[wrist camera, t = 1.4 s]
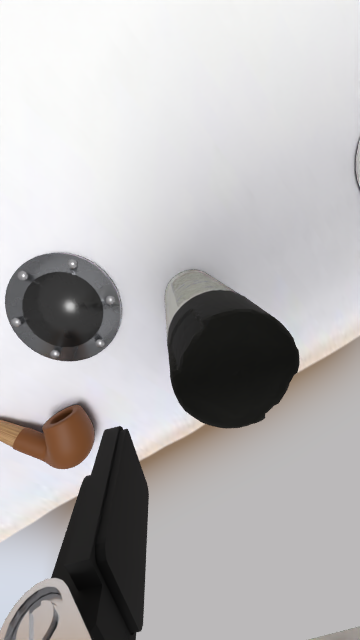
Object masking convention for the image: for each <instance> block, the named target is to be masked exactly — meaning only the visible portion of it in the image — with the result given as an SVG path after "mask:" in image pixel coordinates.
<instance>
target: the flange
mask: <svg viewBox="0 0 360 640" xmlns="http://www.w3.org/2000/svg"><path fill="white" fill-rule="evenodd" d="M5 307H6V313H7V317H8V320H9V322H10V324H11V326H12V328H13V330H14V332H15V333H16V334H17V336H18V337H19V338H20V339H21V340H22V342H24V343H25V344H26V345H27V346H28V347H29V348H31V349H32V350H34V351H35V352H37V353H39V354H41V355H43V356H45V357H48V358H51V359H54V360H60V361H78V360H83V359H87V358H90V357H92V356H94V355H96V354H98V353H99V352H101V351H102V350H103V349H105V348H106V347H107V346H108V345H109V344H110V342H111V341H112V339H113V338H114V336H115V334H116V332H117V330H118V328H119V325H120V322H121V316H122V307H121V300H120V296H119V293H118V291H117V288H116V287H115V285H114V283H113V281H112V280H111V279H110V277H109V276H108V275H107V274H106V273H105V271H103V270H102V269H101V268H100V267H99V266H97V265H96V264H95V263H93V262H91V261H89V260H88V259H86V258H83V257H80V256H78V255H73V254H68V253H51V254H44V255H41V256H37V257H35V258H33V259H31V260H29V261H27V262H26V263H24V264H23V265H22V266H21V267H19V268H18V269H17V271H16V272H15V273H14V274H13V276H12V278H11V279H10V281H9V284H8V286H7V290H6V295H5Z"/></svg>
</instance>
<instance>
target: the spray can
mask: <svg viewBox="0 0 360 640" xmlns="http://www.w3.org/2000/svg"><path fill="white" fill-rule="evenodd" d="M165 311H166V329H167V346H168V352H169V364H170V378H171V383H172V387H173V390H174V393H175V395H176V397H177V399H178V401H179V403H180V405H181V406H182V407H183V409H184V410H185V411H186V412H187V413H189V414H190V415H191V416H193V417H194V418H196V419H197V420H199V421H200V422H202V423H205V424H208V425H211V426H215V427H220V428H240V427H243V426H248V425H250V424H253V423H257V422H259V421H261V420H263V419H264V418H265V413H267V412H268V411H269V410H270V409H271V408H272V407H273V406H274V405H276V404H278V403H279V402H280V400H281V399H282V397H283V396H284V394H285V393H286V391H287V388H288V386H289V383H290V381H291V380H292V378H293V376H294V375H295V374H296V373H297V372H298V368H299V351H298V349H297V347H296V345H295V342H294V339H293V337H292V336H291V334H290V333H289V331H288V330H287V329H286V328H285V327H284V326H283V325H282V324H281V323H280V322H279V321H278V320H277V319H276V318H274V317H273V316H271V315H270V314H268V313H267V312H265V311H264V310H262V309H261V308H260V307H258V306H257V305H255V304H254V303H253V302H251V301H250V300H248V299H247V298H246V297H244V296H242V295H240V294H238V293H237V292H235V291H234V290H232V289H230V288H229V287H227V286H226V285H224V284H222V283H221V282H219V281H218V280H216V279H215V278H213V277H211V276H210V275H208V274H207V273H204V272H202V271H199V270H187V271H183V272H181V273H179V274H177V275H176V276H175V277H173V278H172V280H171V281H170V282H169V283H168V286H167V288H166V291H165Z"/></svg>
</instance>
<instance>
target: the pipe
mask: <svg viewBox="0 0 360 640" xmlns="http://www.w3.org/2000/svg"><path fill="white" fill-rule="evenodd" d="M42 429H43V433H42V432H39V431H36V430H34V429H31V428H28V427H22V426H19V425H16V424H13V423H10V422H7V421H3V420H0V441H1V442H3V443H5V444H7V445H9V446H11V447H13V449H15V450H17V451H20V452H22V453H25V454H27V455H30V456H32V457H35V458H37V459H40V460H42V461H44V462H46V463H47V464H49V465H50V466H52V467H54V468H57V469H68V468H72V467H75V466H77V465H78V464H80V463H81V462H82V461H83V460H84V459H85V458H86V457H87V456H88V454H89V453H90V451H91V449H92V446H93V443H94V438H95V433H94V427H93V424H92V422H91V420H90V418H89V417H88V415H87V414H86V412H85V411H84V410H83V408H82V407H81V406H80V405H73V406H70V407H67V408H65V409H63V410H61V411H60V412H58V413H57V414H55V415H54V416H52V417H51V418H50V419H49V420H48V421H47V422H46V423H45V424H44V425H43V428H42Z"/></svg>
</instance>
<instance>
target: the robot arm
mask: <svg viewBox="0 0 360 640" xmlns="http://www.w3.org/2000/svg"><path fill="white" fill-rule="evenodd" d="M356 174H357V181H358V183H359V186H360V141H359V144H358V149H357V155H356ZM148 495H149V494H148V486H147V482H146V480H145V477H144V474H143V471H142V469H141V465H140V462H139V459H138V456H137V454H136V451H135V448H134V445H133V442H132V439H131V436H130V433H129V431H128V429H124V430H123V428H122V427H121V426H119V427H115V428H110V429H106V430H105V431H104V433H103V436H102V440H101V443H100V446H99V450H98V453H97V456H96V460H95V463H94V467H93V470H92V473H91V475H89V476H86V477H85V478H84V480H83V482H82V485H81V488H80V491H79V494H78V497H77V500H76V503H75V506H74V509H73V512H72V515H71V519H70V522H69V525H68V528H67V531H66V534H65V537H64V540H63V543H62V546H61V549H60V552H59V555H58V559H57V562H56V565H55V568H54V571H53V574H52V577H51V579H46V580H44V581H42V582H40V583H38V584H36V585H35V586H33V587H32V588H31V589H30V590H28V591H27V592H26V593H25V594H24V595H23V596H22V597H21V598H20V600H19V601H18V602H17V603H16V604H15V605H14V607H13V608H12V610H11V612H10V613H9V615H8V616H7V618H6V619H5V622H4V624H3V626H2V628H1V630H0V640H136V632H139V631H141V630H142V626H143V611H144V590H145V567H146V543H147V521H148V499H149V498H148V497H149V496H148ZM310 640H360V627H356V628H352V629H348V630H344V631H340V632H336V633H333V634H329V635H325V636H321V637H317V638H313V639H310Z"/></svg>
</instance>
